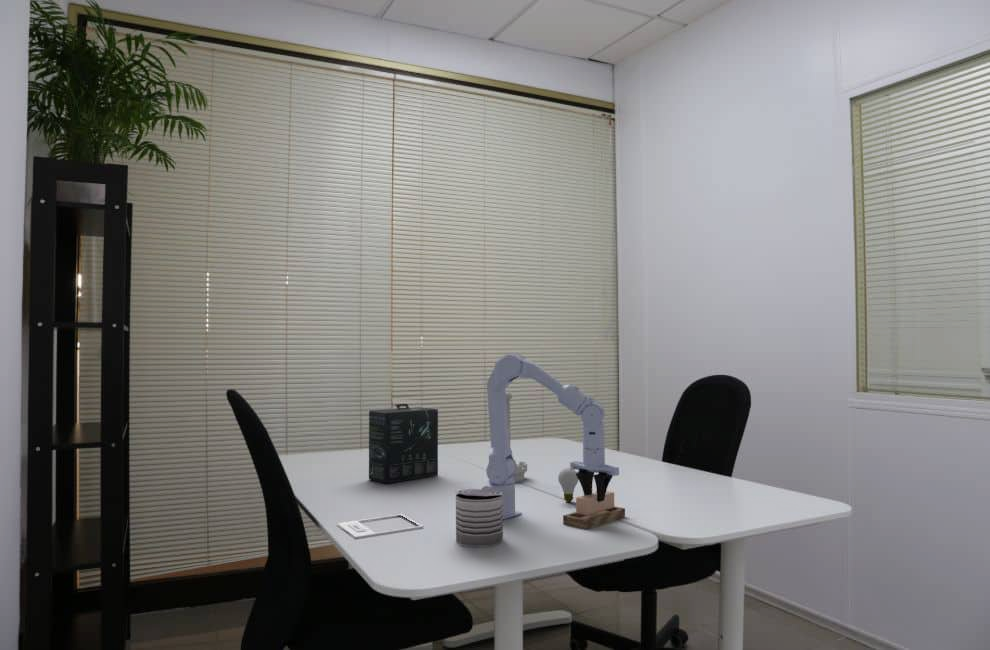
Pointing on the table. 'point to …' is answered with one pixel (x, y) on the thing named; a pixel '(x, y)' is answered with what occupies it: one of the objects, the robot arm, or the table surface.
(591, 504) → the block
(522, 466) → the flag stand
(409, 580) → the table surface
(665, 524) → the table surface
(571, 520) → the wooden tray
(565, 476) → the light bulb
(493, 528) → the can
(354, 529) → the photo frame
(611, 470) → the robot arm
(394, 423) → the headset box
